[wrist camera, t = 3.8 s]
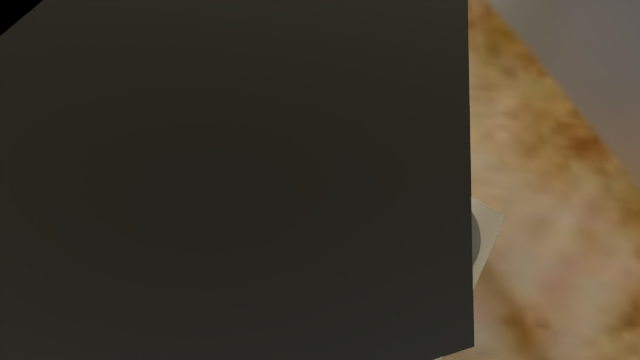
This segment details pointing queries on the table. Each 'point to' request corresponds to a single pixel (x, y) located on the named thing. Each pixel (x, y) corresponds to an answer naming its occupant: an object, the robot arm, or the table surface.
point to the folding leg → (235, 180)
